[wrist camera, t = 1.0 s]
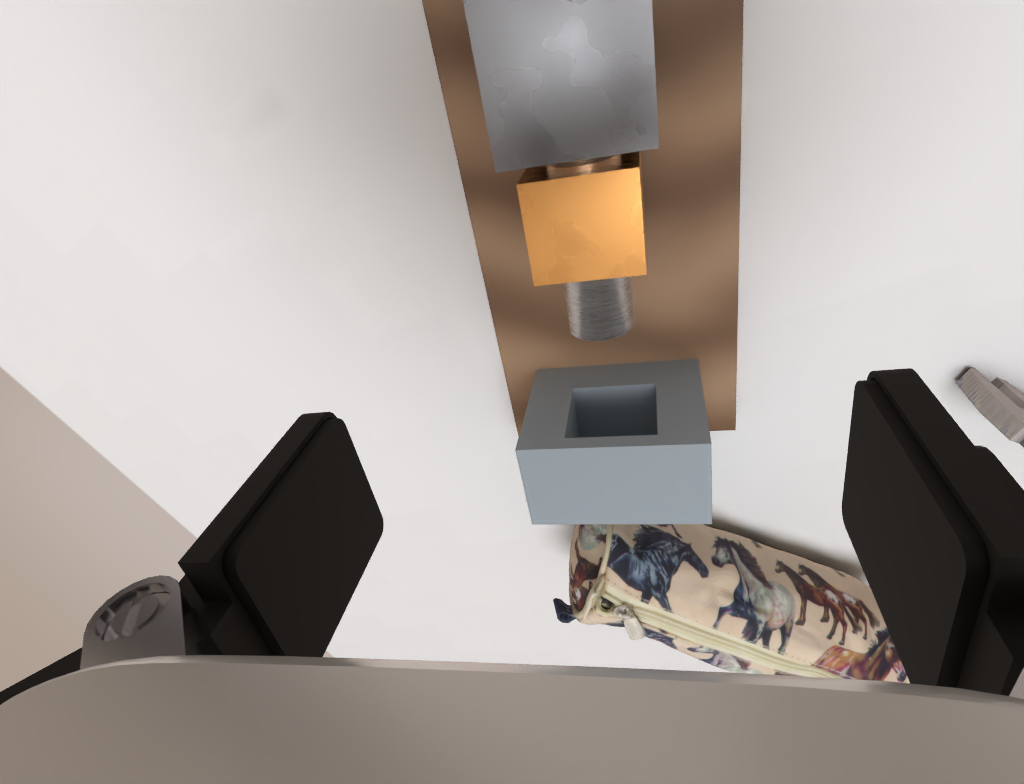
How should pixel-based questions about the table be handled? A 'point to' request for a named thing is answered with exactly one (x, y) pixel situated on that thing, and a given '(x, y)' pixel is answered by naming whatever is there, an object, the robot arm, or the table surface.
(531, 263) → the tube
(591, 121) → the sleeve
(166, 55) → the table surface
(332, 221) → the table surface
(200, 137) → the table surface
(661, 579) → the pencil case
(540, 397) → the socket
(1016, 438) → the caliper
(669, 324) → the board
